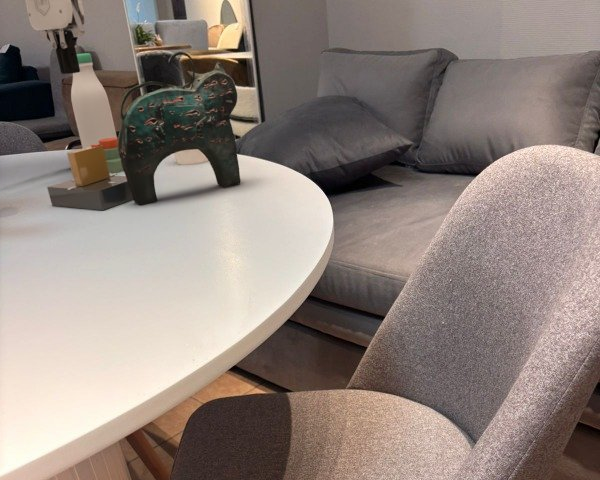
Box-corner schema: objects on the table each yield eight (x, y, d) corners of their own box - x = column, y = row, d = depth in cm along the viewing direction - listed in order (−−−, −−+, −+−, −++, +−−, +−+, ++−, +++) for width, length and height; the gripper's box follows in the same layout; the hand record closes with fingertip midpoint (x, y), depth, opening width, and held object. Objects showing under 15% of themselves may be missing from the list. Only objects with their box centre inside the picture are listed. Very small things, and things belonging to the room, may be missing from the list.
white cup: (169, 161, 129) (159, 107, 124) (206, 155, 131) (198, 102, 126) (178, 167, 122) (168, 111, 117) (217, 161, 125) (209, 105, 120)
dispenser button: (96, 150, 126) (94, 141, 125) (110, 147, 128) (108, 137, 127) (109, 151, 124) (107, 141, 123) (122, 147, 126) (120, 137, 126)
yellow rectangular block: (82, 186, 100) (73, 151, 98) (75, 185, 101) (66, 151, 98) (110, 177, 105) (102, 143, 102) (103, 177, 105) (95, 143, 103)
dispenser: (82, 171, 128) (76, 150, 125) (111, 162, 133) (106, 142, 131) (117, 173, 123) (112, 151, 121) (146, 164, 128) (142, 143, 126)
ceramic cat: (239, 178, 110) (222, 46, 99) (255, 184, 105) (238, 45, 94) (126, 201, 102) (95, 60, 92) (138, 209, 97) (106, 61, 87)
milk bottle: (125, 154, 141) (103, 51, 130) (91, 161, 137) (66, 56, 127) (113, 150, 146) (91, 52, 136) (80, 157, 143) (55, 56, 133)
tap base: (49, 206, 104) (43, 186, 102) (96, 191, 111) (91, 172, 109) (100, 211, 98) (94, 190, 96) (146, 194, 105) (142, 175, 103)
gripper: (-3, -43, 110) (28, 76, 119) (54, -54, 102) (82, 74, 112) (33, -42, 115) (60, 72, 124) (90, -52, 108) (114, 69, 117)
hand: (70, 72), depth 118 cm, fingers closed
